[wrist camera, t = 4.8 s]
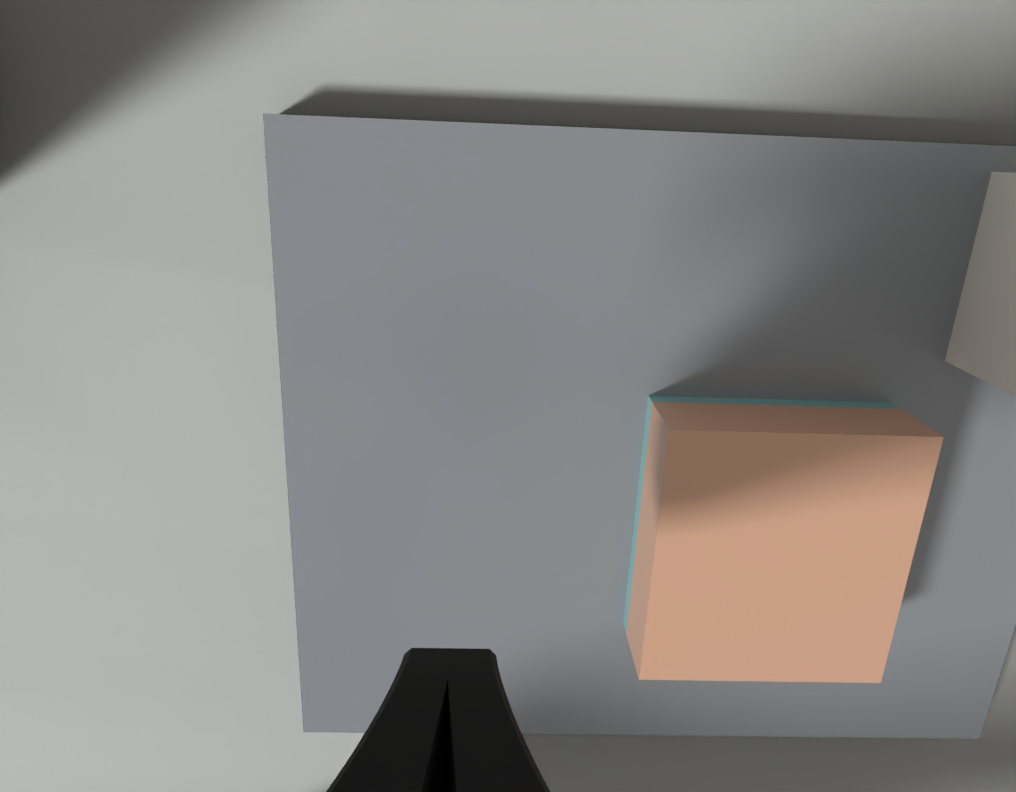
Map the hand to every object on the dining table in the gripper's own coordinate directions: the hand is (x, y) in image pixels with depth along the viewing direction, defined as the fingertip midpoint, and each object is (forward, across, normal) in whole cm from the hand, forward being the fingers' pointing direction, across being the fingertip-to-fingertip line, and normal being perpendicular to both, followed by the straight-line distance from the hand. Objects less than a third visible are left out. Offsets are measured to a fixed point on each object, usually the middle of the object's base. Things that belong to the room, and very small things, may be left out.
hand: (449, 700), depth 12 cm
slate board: (+7, -5, -1) cm, 9 cm away
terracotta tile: (+5, -4, 0) cm, 6 cm away
